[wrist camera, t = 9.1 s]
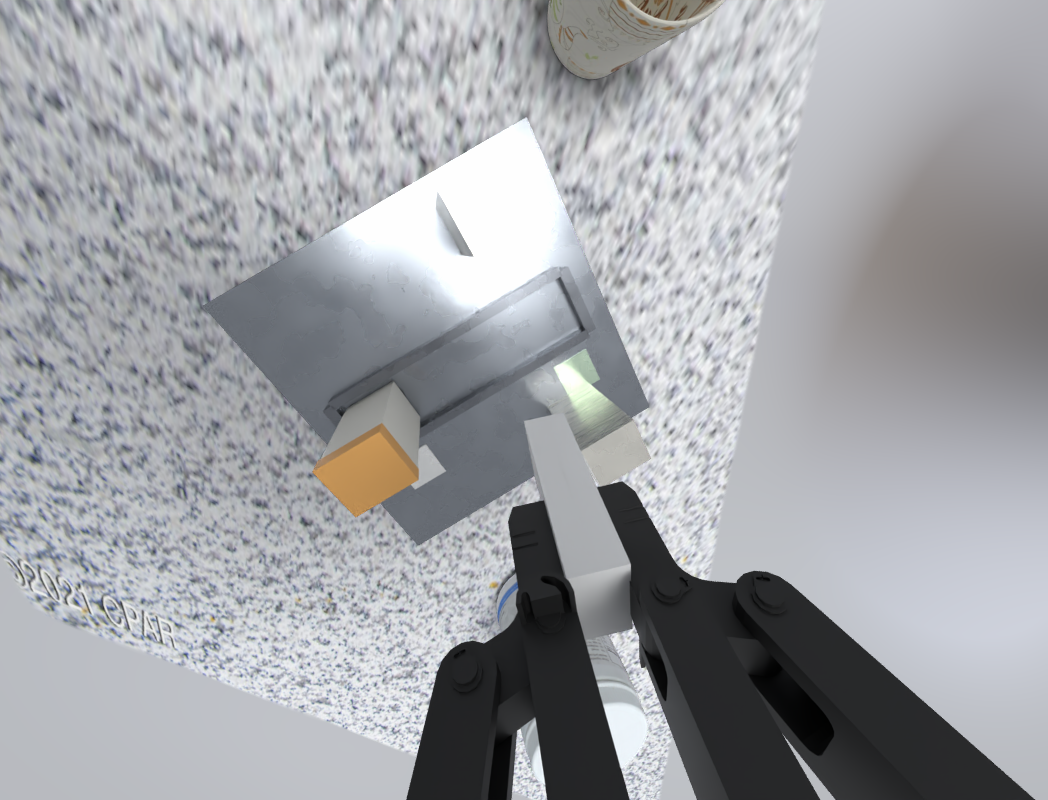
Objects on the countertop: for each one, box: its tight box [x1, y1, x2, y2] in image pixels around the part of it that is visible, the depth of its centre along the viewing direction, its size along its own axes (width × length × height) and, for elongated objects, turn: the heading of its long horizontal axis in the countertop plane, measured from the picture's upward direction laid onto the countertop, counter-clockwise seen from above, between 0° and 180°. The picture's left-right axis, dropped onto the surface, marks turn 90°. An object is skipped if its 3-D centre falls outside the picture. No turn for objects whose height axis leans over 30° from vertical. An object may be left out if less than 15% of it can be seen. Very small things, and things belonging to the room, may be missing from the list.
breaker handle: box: [312, 381, 420, 517], centre depth 26 cm, size 4×4×9 cm
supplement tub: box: [496, 573, 648, 785], centre depth 35 cm, size 10×10×15 cm
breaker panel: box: [203, 117, 651, 545], centre depth 27 cm, size 24×24×10 cm
